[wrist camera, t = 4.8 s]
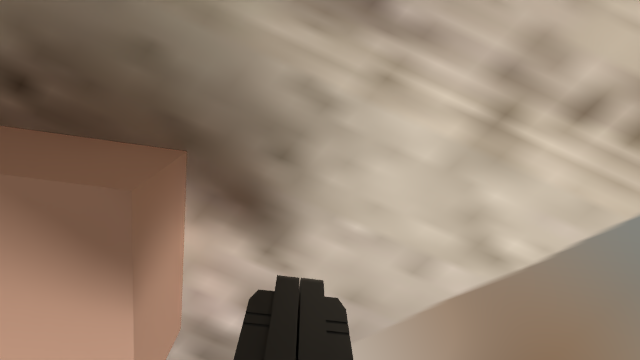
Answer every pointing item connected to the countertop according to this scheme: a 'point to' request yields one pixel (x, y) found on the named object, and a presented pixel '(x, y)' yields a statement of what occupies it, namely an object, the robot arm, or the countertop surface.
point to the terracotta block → (89, 247)
